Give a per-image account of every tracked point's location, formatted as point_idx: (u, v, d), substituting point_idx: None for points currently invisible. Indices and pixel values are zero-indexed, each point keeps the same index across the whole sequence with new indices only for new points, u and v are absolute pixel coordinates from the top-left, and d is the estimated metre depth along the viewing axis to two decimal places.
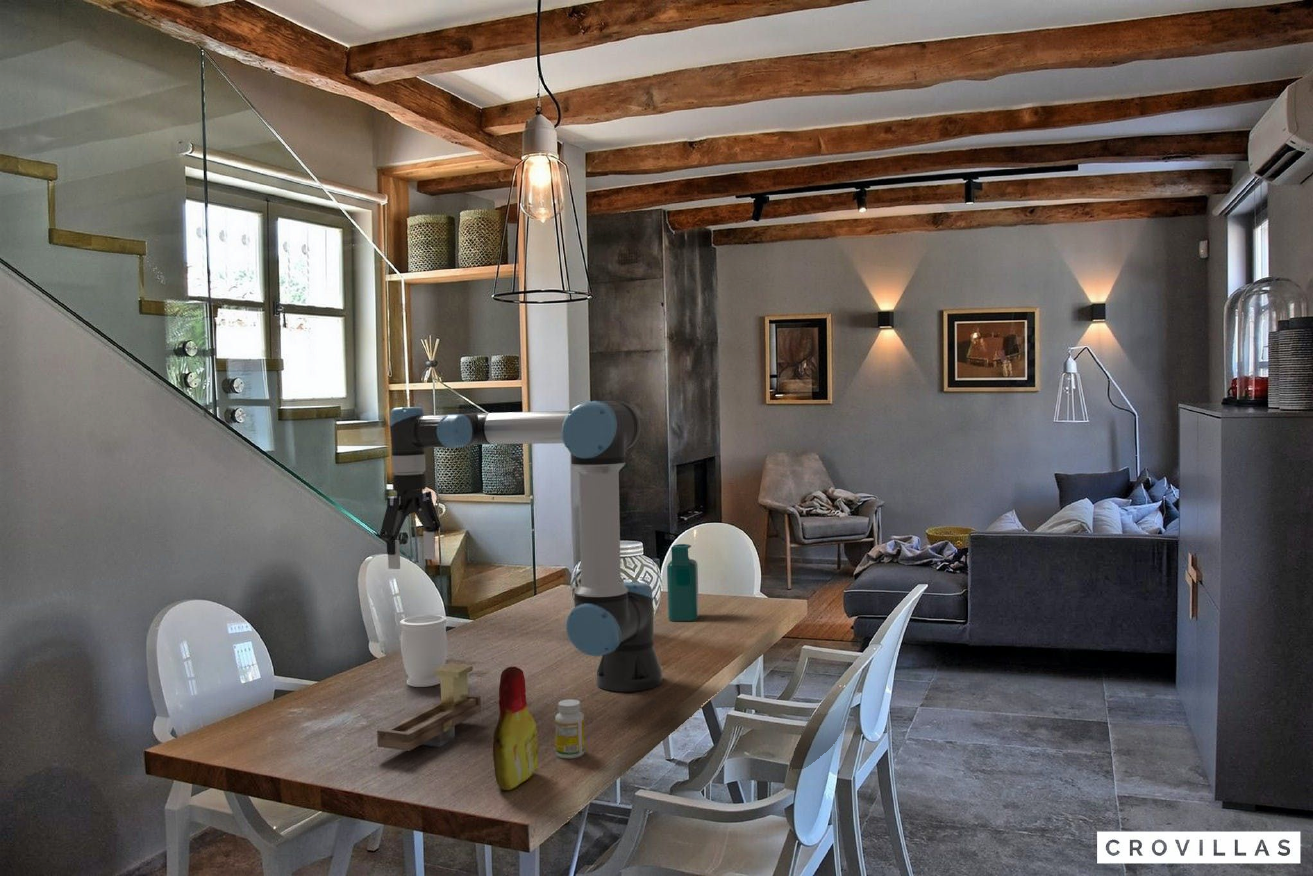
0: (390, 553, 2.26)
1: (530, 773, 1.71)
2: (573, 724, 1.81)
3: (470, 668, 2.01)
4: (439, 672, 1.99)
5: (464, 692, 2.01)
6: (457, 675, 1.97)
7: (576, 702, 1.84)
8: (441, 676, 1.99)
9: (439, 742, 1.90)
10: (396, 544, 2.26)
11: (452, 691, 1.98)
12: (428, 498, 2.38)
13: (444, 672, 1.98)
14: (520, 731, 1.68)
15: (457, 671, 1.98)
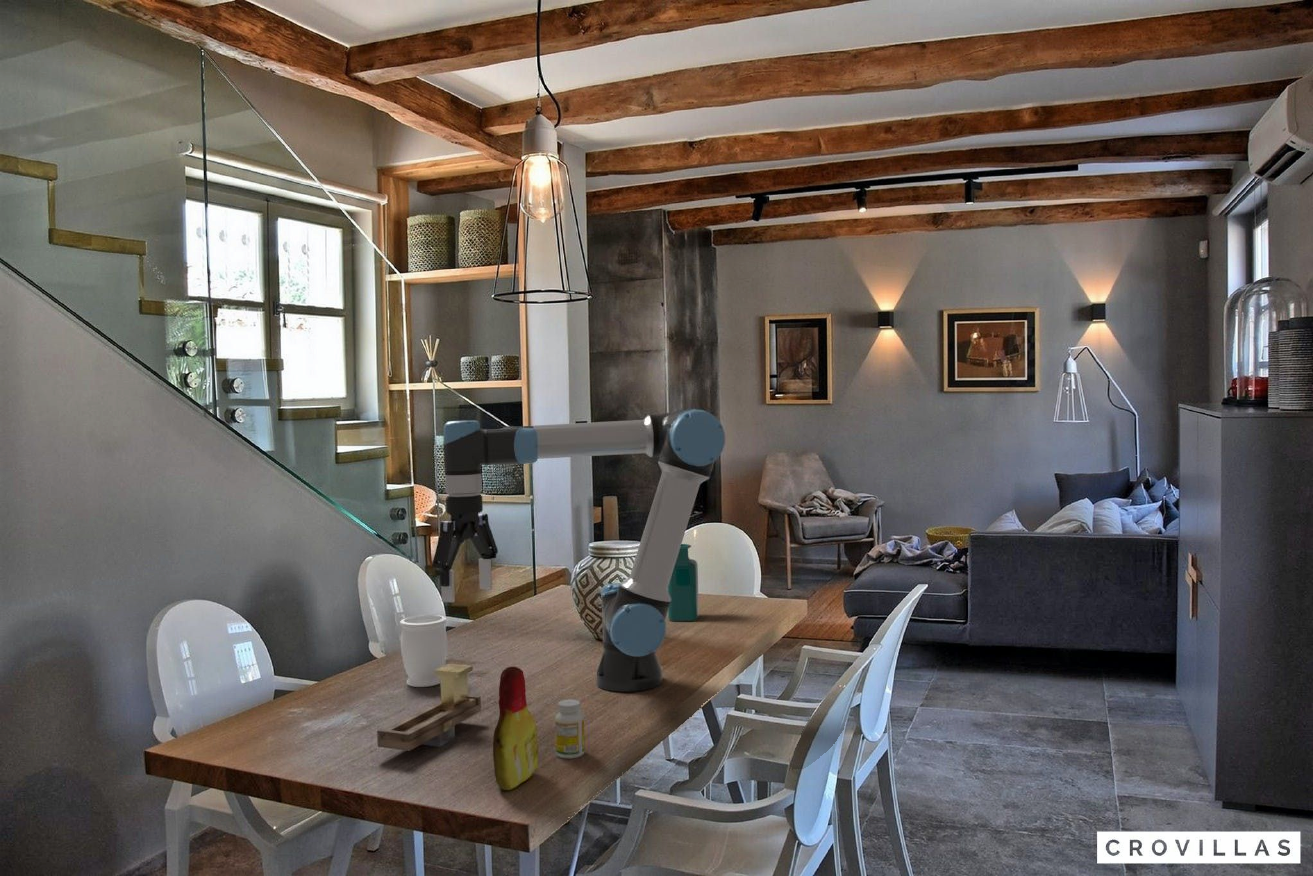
0: (444, 585, 2.02)
1: (530, 773, 1.71)
2: (573, 724, 1.81)
3: (470, 668, 2.01)
4: (439, 672, 1.99)
5: (464, 692, 2.01)
6: (457, 675, 1.97)
7: (576, 702, 1.84)
8: (441, 676, 1.99)
9: (439, 742, 1.90)
10: (450, 574, 2.02)
11: (452, 691, 1.98)
12: (484, 522, 2.13)
13: (444, 672, 1.98)
14: (520, 731, 1.68)
15: (457, 671, 1.98)
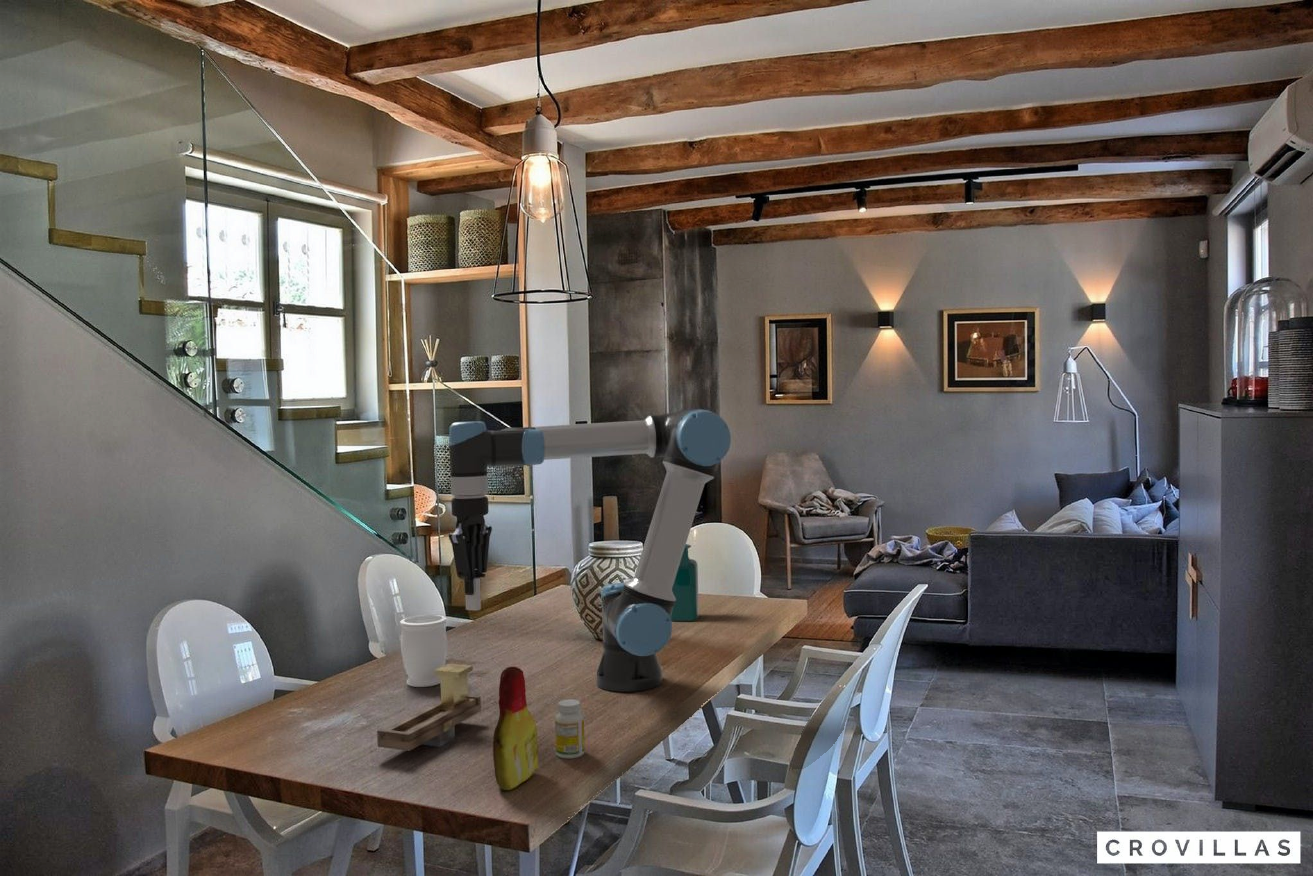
0: (468, 593, 2.05)
1: (530, 773, 1.71)
2: (573, 724, 1.81)
3: (470, 668, 2.01)
4: (439, 672, 1.99)
5: (464, 692, 2.01)
6: (457, 675, 1.97)
7: (576, 702, 1.84)
8: (441, 676, 1.99)
9: (439, 742, 1.90)
10: (475, 583, 2.06)
11: (452, 691, 1.98)
12: (487, 531, 2.10)
13: (444, 672, 1.98)
14: (520, 731, 1.68)
15: (457, 671, 1.98)
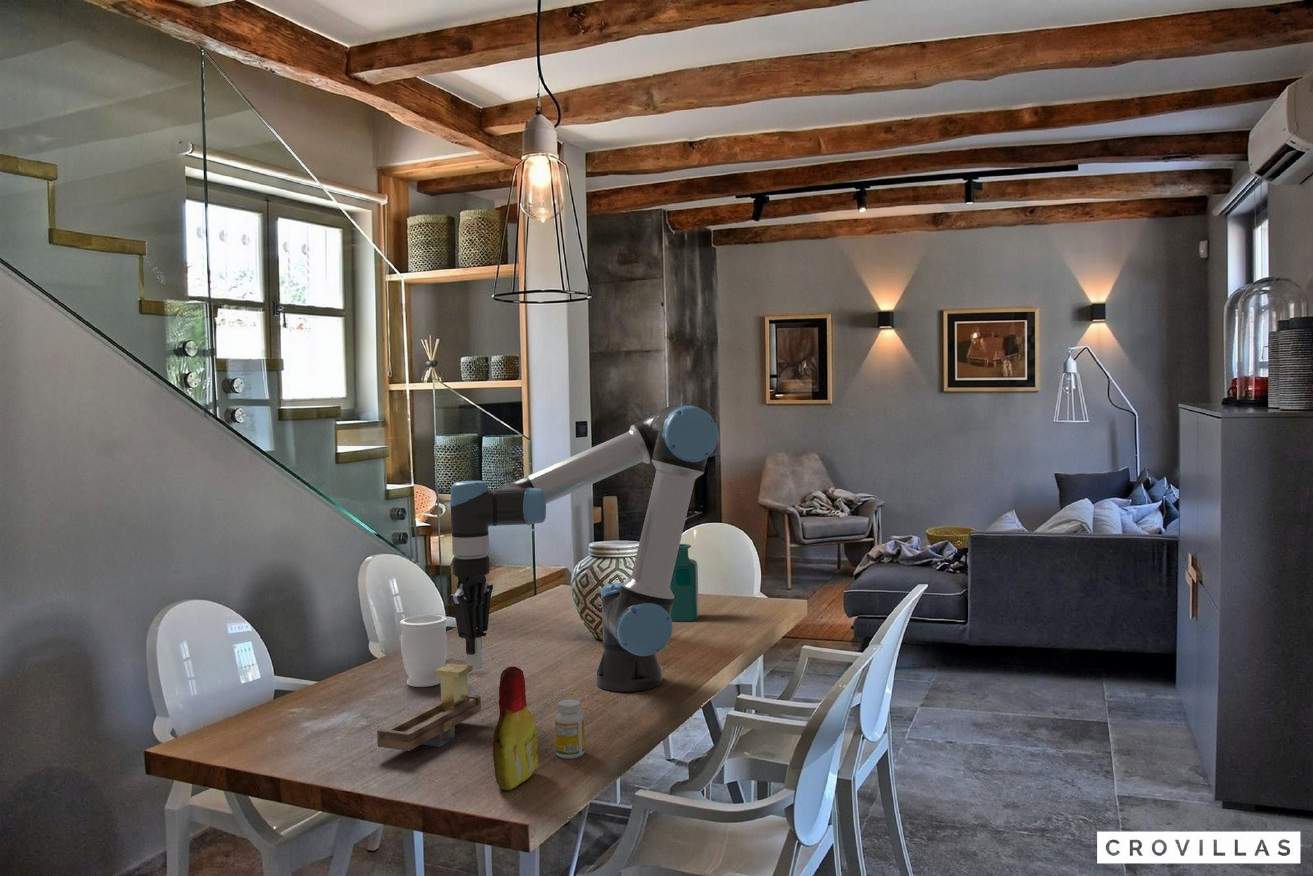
0: (470, 653, 2.06)
1: (530, 773, 1.71)
2: (573, 724, 1.81)
3: (470, 668, 2.01)
4: (439, 672, 1.99)
5: (464, 692, 2.01)
6: (457, 675, 1.97)
7: (576, 702, 1.84)
8: (441, 676, 1.99)
9: (439, 742, 1.90)
10: (476, 643, 2.06)
11: (452, 691, 1.98)
12: (488, 590, 2.11)
13: (444, 672, 1.98)
14: (520, 731, 1.68)
15: (457, 671, 1.98)
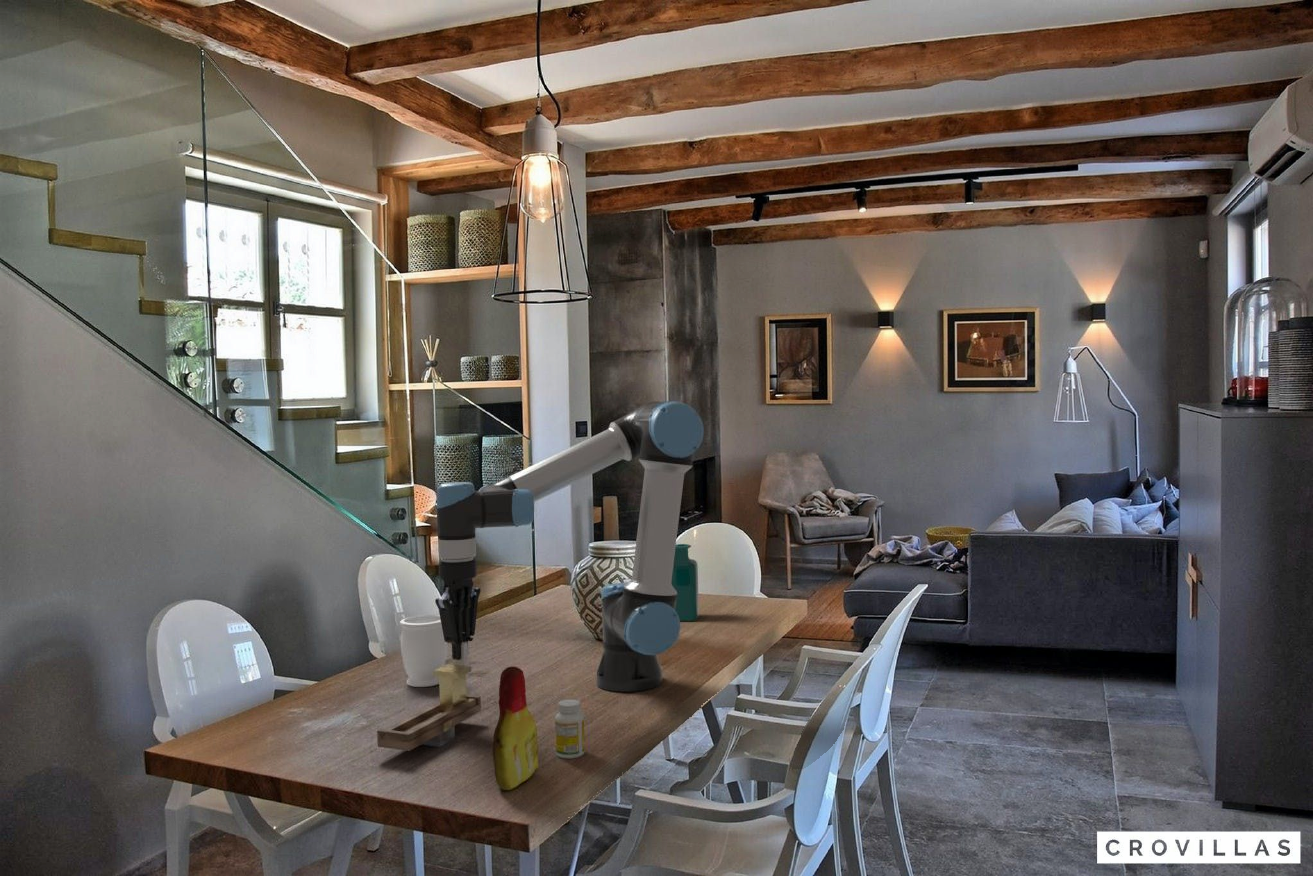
0: (456, 658, 2.01)
1: (530, 773, 1.71)
2: (573, 724, 1.81)
3: (469, 669, 2.00)
4: (437, 673, 1.98)
5: (463, 693, 2.01)
6: (456, 675, 1.97)
7: (576, 702, 1.84)
8: (440, 677, 1.98)
9: (439, 742, 1.90)
10: (462, 647, 2.02)
11: (451, 692, 1.97)
12: (475, 593, 2.06)
13: (443, 673, 1.98)
14: (520, 731, 1.68)
15: (456, 672, 1.97)
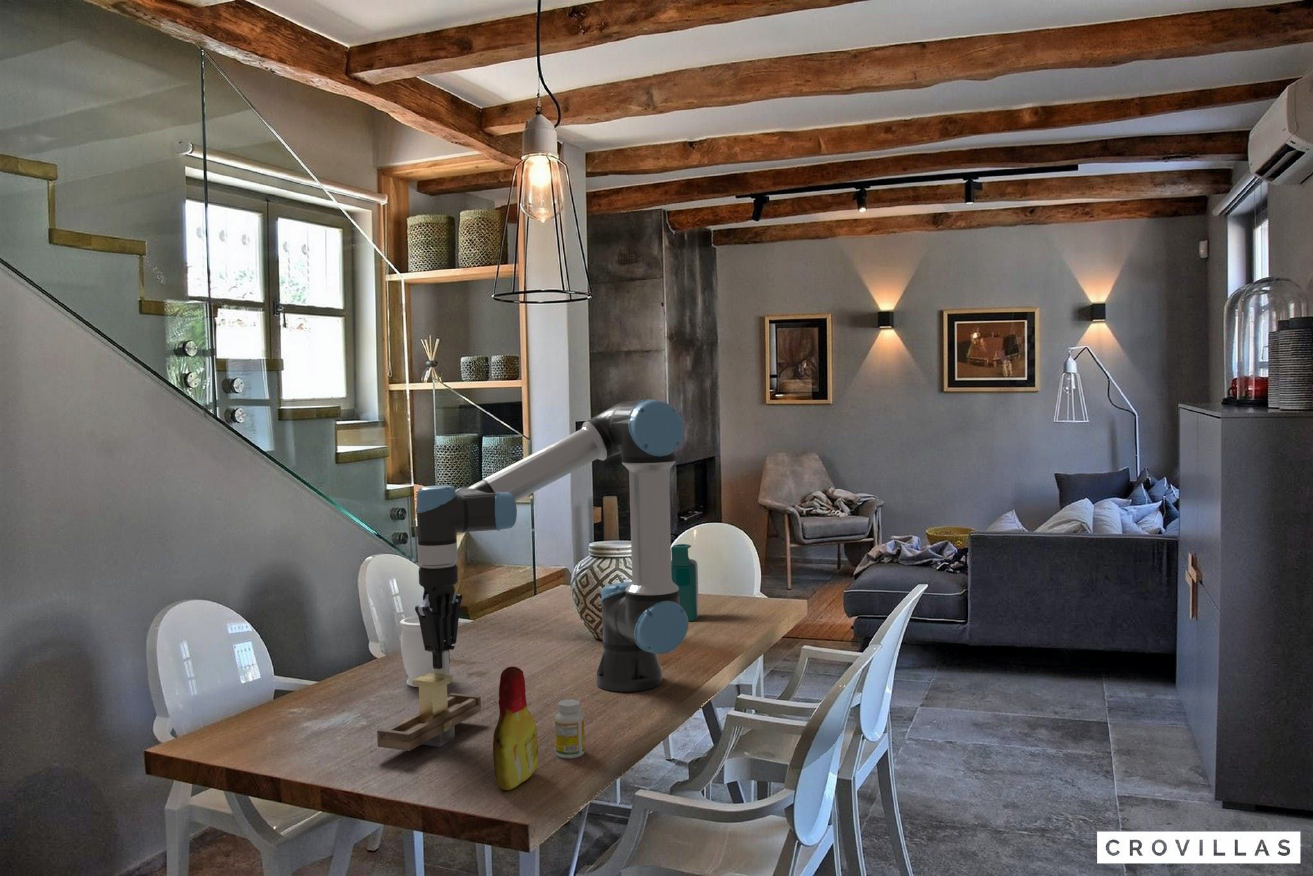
0: (436, 667, 1.95)
1: (530, 773, 1.71)
2: (573, 724, 1.81)
3: (450, 678, 1.94)
4: (417, 682, 1.92)
5: (444, 703, 1.95)
6: (436, 685, 1.90)
7: (576, 702, 1.84)
8: (419, 686, 1.92)
9: (439, 742, 1.90)
10: (443, 656, 1.95)
11: (431, 702, 1.91)
12: (457, 600, 2.00)
13: (423, 682, 1.92)
14: (520, 731, 1.68)
15: (436, 681, 1.91)
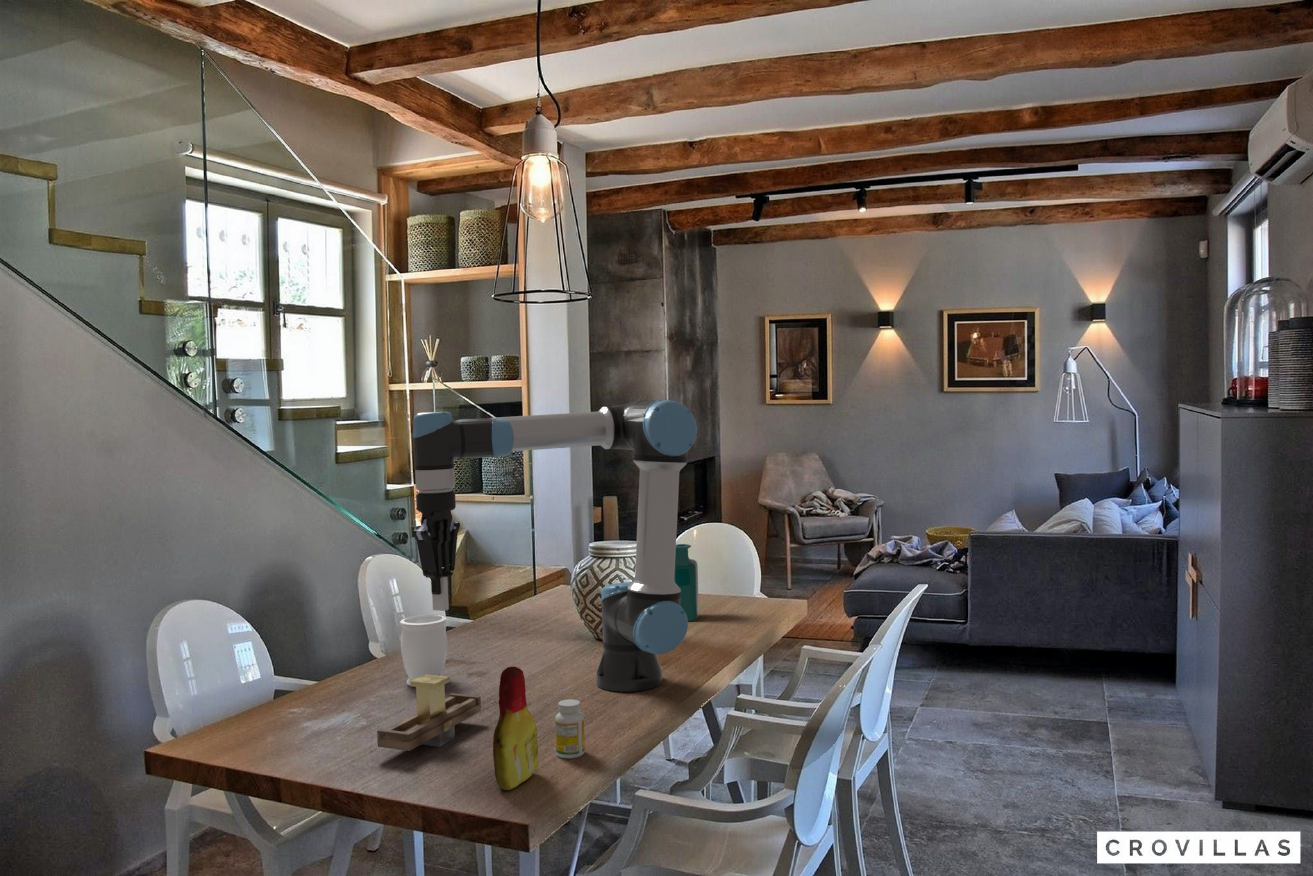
0: (435, 593, 1.95)
1: (530, 773, 1.71)
2: (573, 724, 1.81)
3: (447, 679, 1.93)
4: (414, 684, 1.91)
5: (441, 704, 1.94)
6: (433, 686, 1.90)
7: (576, 702, 1.84)
8: (417, 687, 1.91)
9: (439, 742, 1.90)
10: (442, 582, 1.95)
11: (428, 703, 1.90)
12: (455, 527, 2.00)
13: (420, 683, 1.91)
14: (520, 731, 1.68)
15: (433, 682, 1.90)
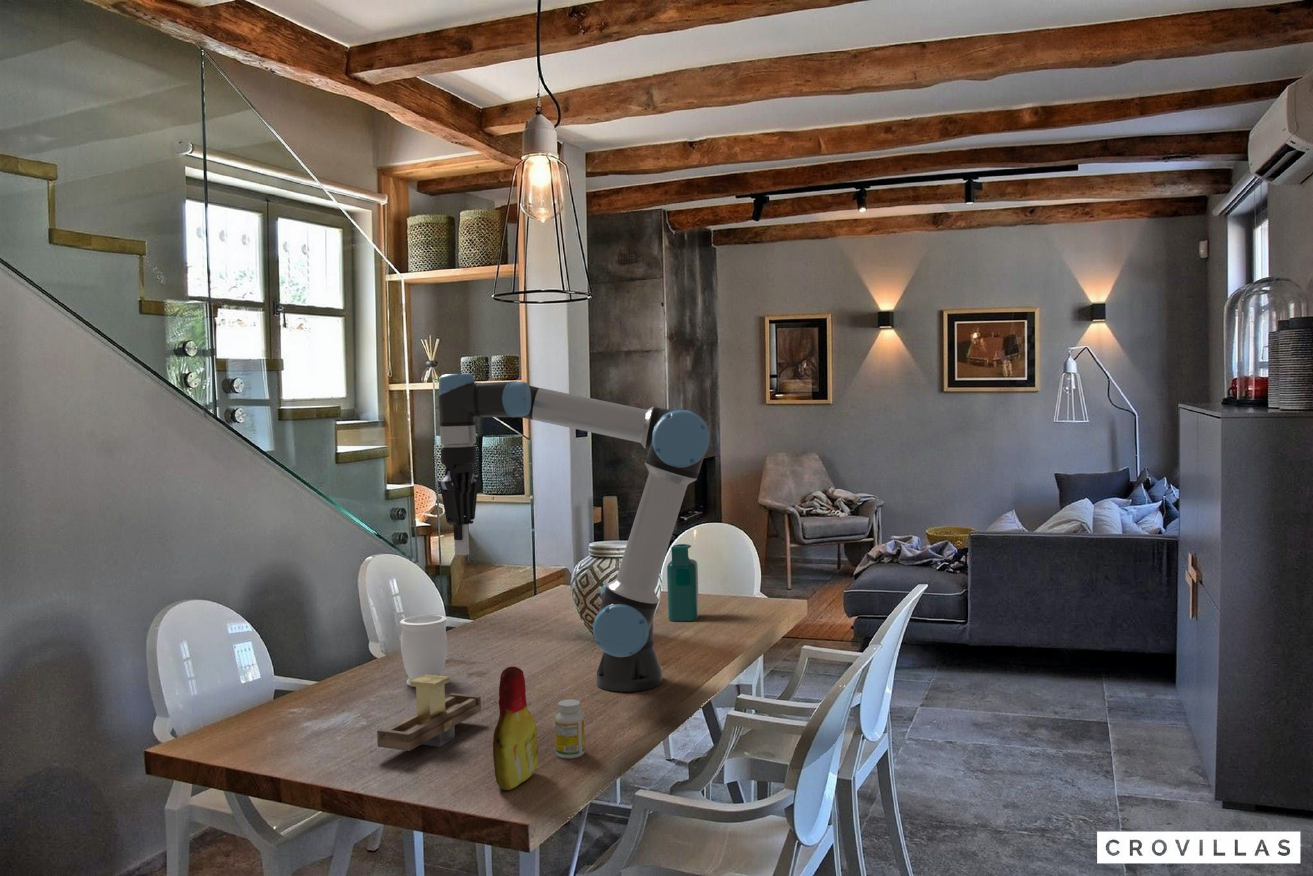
0: (457, 538, 2.14)
1: (530, 773, 1.71)
2: (573, 724, 1.81)
3: (447, 679, 1.93)
4: (414, 684, 1.91)
5: (441, 704, 1.94)
6: (433, 686, 1.90)
7: (576, 702, 1.84)
8: (417, 687, 1.91)
9: (439, 742, 1.90)
10: (463, 529, 2.15)
11: (428, 703, 1.90)
12: (475, 480, 2.19)
13: (420, 683, 1.91)
14: (520, 731, 1.68)
15: (433, 682, 1.90)
